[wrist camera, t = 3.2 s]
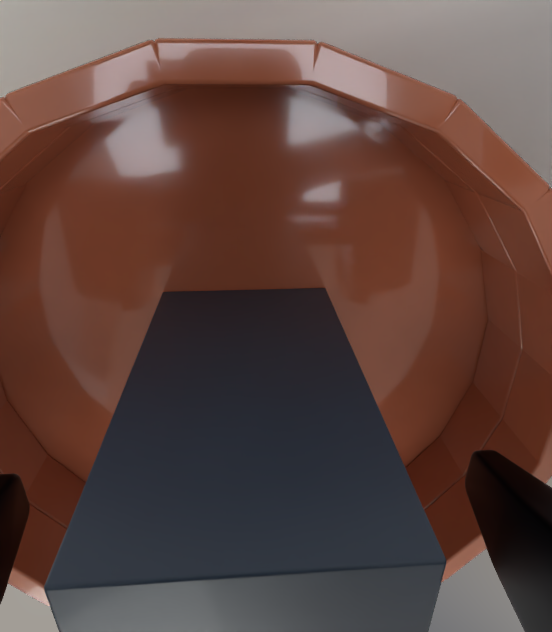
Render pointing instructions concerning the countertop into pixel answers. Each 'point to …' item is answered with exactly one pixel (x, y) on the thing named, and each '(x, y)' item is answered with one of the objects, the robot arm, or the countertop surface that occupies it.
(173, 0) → the countertop surface
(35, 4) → the countertop surface
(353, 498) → the block
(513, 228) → the bowl
